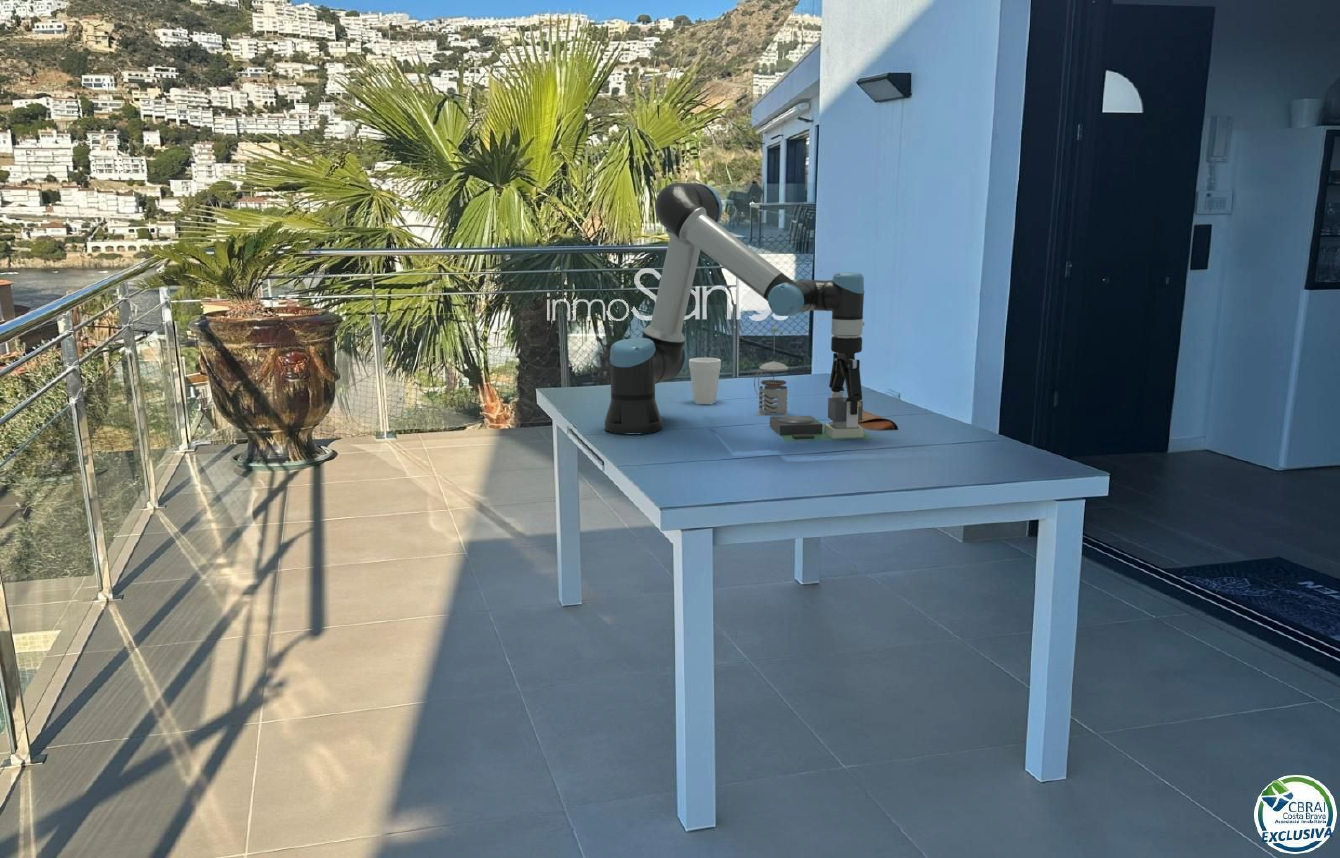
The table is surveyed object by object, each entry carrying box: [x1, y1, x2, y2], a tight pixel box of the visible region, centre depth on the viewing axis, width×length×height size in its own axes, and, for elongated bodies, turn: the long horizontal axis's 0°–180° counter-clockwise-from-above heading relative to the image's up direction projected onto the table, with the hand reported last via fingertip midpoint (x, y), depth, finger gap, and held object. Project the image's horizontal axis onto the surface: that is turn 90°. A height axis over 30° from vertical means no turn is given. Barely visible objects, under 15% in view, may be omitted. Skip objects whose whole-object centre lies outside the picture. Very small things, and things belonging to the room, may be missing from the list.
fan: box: [769, 415, 824, 436], centre depth 264 cm, size 11×11×3 cm
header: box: [824, 423, 865, 438], centre depth 258 cm, size 8×7×2 cm
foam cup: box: [688, 357, 722, 405], centre depth 307 cm, size 10×9×13 cm
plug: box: [827, 396, 864, 429], centre depth 257 cm, size 7×6×9 cm
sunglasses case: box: [858, 409, 899, 432], centre depth 271 cm, size 18×7×7 cm, turn 19°
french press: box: [753, 326, 789, 416], centre depth 286 cm, size 10×12×25 cm
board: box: [774, 421, 873, 442], centre depth 261 cm, size 22×18×3 cm
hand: (844, 422), depth 258 cm, fingers open, 12 cm apart
